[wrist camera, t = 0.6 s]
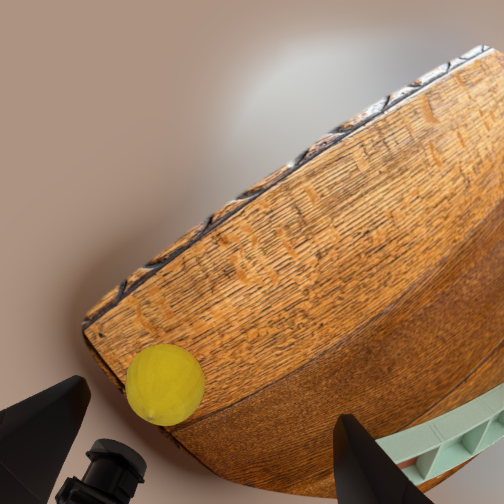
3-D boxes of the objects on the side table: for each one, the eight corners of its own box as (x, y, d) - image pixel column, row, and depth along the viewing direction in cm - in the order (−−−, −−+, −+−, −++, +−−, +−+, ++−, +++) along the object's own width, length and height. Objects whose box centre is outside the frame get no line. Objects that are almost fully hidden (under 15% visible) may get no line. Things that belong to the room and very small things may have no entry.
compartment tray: (356, 481, 26) (364, 503, 22) (363, 443, 24) (374, 468, 20) (497, 418, 25) (510, 431, 21) (514, 374, 24) (530, 387, 20)
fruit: (139, 368, 22) (104, 428, 14) (153, 315, 21) (111, 368, 13) (199, 391, 23) (183, 459, 15) (219, 341, 22) (206, 407, 14)
